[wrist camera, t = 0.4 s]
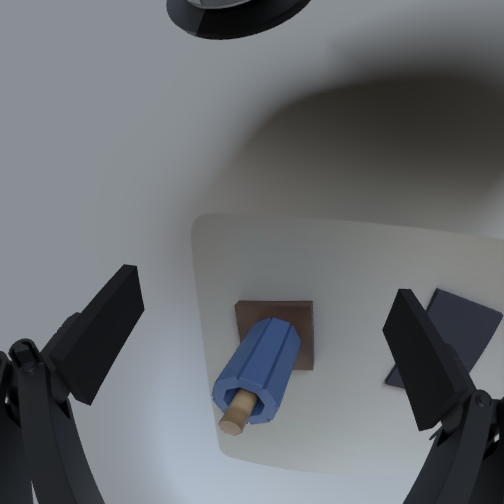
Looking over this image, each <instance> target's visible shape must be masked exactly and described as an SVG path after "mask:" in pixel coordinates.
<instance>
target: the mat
mask: <svg viewBox="0 0 504 504" xmlns="http://www.w3.org/2000/svg"><path fill="white" fill-rule="evenodd" d="M426 313H427V315H428V316H429V318H430V319H431V321H432V323H433V324H434V326H435V327H436V329H437V331H438V332H439V334H440V336H441V337H442V339H443V341H444V343H449V344H450V345H451V346H452V347H453V348H454V349H455V350H456V352H457V354H458V355H459V357H460V360H461V361H462V363H463V364H464V365H463V366H465V368H466V370H467V372H468V374H469V372H470V371H471V370H472V368H473V367H474V365H475V364H476V362H477V361H478V359H479V358H480V356H481V354H482V353H483V351H484V350H485V348H486V346H487V345H488V343H489V341H490V340H491V338H492V336H493V334H494V333H495V331H496V329H497V327H498V325H499V323H500V321H501V319H502V318H503V314H502V313H500V312H498V311H495V310H493V309H490V308H488V307H485V306H482V305H480V304H477V303H475V302H472V301H469V300H467V299H464V298H462V297H459V296H456V295H454V294H451V293H448V292H446V291H443V290H440V289H438V288H437V289H436V291H435V293H434V295H433V297H432V299H431V302H430V304H429V306H428V308H427V310H426ZM385 382H386V384H388V385H392V386H397V387H401V388H405V387H404V384H403V381H402V379H401V376H400V373H399V371H398V368H397V365H395V366H394V368H393V369H392V371H391V373H390V374H389V376H388V377H387V379H386V380H385Z"/></svg>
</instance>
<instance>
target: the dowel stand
mask: <svg viewBox="0 0 504 504" xmlns="http://www.w3.org/2000/svg"><path fill="white" fill-rule="evenodd" d="M235 311H236V317H237V323H238V329H239V335H240V341H241V343H242V341H243V340H244V338H245V337H246V335H247V334H248V332H249V331H250V329H251V328H252V326H253V325H254V324H255V323H256V322H258V321H261V320H264V319H266V318H269V317H270V318H271V319H272V318H273V317H274V318H277V319H280V320H283V321H286V322H288V323H290V325H289V326H292V325H293V327H294V328H295V330H296V332H297V334H298V335H299V337H300V342H301V343H300V347H299V350H298V353H297V356H296V359H295V362H294V365H293V368H292V369H294V370H313V366H314V326H313V302H312V301H238V302H237V303H236V304H235ZM258 398H259V397H258V395H257V394H256V393H253V392H251V391H248V390H246V389H243V388H241V387H239V389H238V391H237V393H236V394H235V396H234V398H233V400H232V401H231V403H230V405H229V406H228V408H227V410H226V412H225V413H224V415H223V417H222V418H221V420H220V422H219V427H220V429H221V430H222V431H224V432H225V433H227V434H230V435H240V434H241V433H242V431H243V429H244V427H245V425H246V423H247V421H248V419H249V417H250V415H251V412H252V410H253V408H254V406H255V404H256V402H257V400H258Z"/></svg>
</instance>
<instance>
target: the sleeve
mask: <svg viewBox="0 0 504 504" xmlns="http://www.w3.org/2000/svg"><path fill="white" fill-rule="evenodd" d="M289 325H290V323H288V322H286V321H283V320H280V319H277V318H274V317H273V318H272V319H271V318H270V317H269V318H266V319H264V320H261V321H258V322H256V323H255V324H254V325H253V326H252V328H251V329H250V331H249V332H248V334H247V335H246V337H245V338H244V340H243V341H242V343H241V344H240V346H239V347H238V349H237V350H236V352H235V353H234V355H233V356H232V358H231V359H230V361H229V362H228V364H227V365H226V367H225V368H224V370H223V371H222V373H221V374H220V376H219V377H218V378H217V380H216V381H215V383H214V388H213V392H212V397H213V401H214V402H215V403H216V404H217V406H218V407H219V408H220V409H221V410H222V412H223V413H225V412H226V410H227V408H228V406H229V405H230V403H231V401H232V400H233V398H234V396H235V394H236V393H237V391H238V389H239V387H241V388H243V389H246V390H248V391H251V392H253V393H256V394H257V395H258V397H259V398H258V400H257V402H256V404H255V406H254V408H253V410H252V412H251V415H250V417H249V419H248V421H247V423H246V424H248V422H249V423H250V424H258V423H266V422H270V420H273V418H274V416H275V414H276V412H277V410H278V409H279V406H280V403H281V400H282V398H283V395H284V392H285V389H286V386H287V383H288V380H289V377H290V374H291V371H292V368H293V365H294V362H295V359H296V356H297V353H298V350H299V347H300V343H301V342H300V337H299V335H298V334H297V332H296V330H295V328H294V327H293V325H292V326H289Z"/></svg>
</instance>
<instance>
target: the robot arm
mask: <svg viewBox="0 0 504 504" xmlns="http://www.w3.org/2000/svg"><path fill="white" fill-rule="evenodd" d="M187 1H188V2H189V3H190V4H192V5H193V6H194V7H195V8H197V9H199V10H202V11H206V12H214V13H219V12H229V11H234V10H238V9H242V8H245V7H248V6H251V5H253V4H256V3H258V2H260V1H262V0H187ZM143 312H144V304H143V299H142V294H141V289H140V283H139V277H138V271H137V266H133V265H125V264H124V265H123V266H122V267H121V268H120V269H119V270H118V271H117V272H116V273H115V275H114V276H113V277H112V278H111V279H110V280H109V281H108V282H107V284H106V285H105V286H104V287H103V288H102V289H101V290H100V291H99V293H98V294H97V295H96V296H95V297H94V298H93V299H92V301H91V302H90V303H89V304H88V306H87V307H86V308H85V309H84V310H83V311H82V313H78V312H76V313H75V314H73V315H72V316H70V317H69V318H67V319H66V321H65V322H64V323H63V324H62V327H60V328H59V329H58V330H57V333H55V334H54V335H53V337H52V338H51V339H50V340H49V342H48V343H47V344H46V346H45V347H44V348H43V349H42V351H41V352H40V353H39V351H38V349H37V347H36V345H35V344H34V342H33V341H32V340H30V339H21V340H18V341H16V342H15V343H14V344H13V345H12V346H11V348H10V349H9V353H8V354H9V356H10V358H11V359H12V361H10V360H9V359H8V357H7V355H6V354H5V353H4V352H2V351H0V504H33V495H32V483H33V487H34V491H35V494H36V497H37V500H38V503H39V504H105V503H104V501H103V498H102V496H101V494H100V492H99V490H98V487H97V485H96V483H95V480H94V478H93V475H92V473H91V471H90V468H89V465H88V462H87V459H86V457H85V454H84V451H83V448H82V445H81V441H80V438H79V435H78V432H77V428H76V424H75V421H74V417H73V413H72V409H71V404H70V401H69V399H68V395H69V394H70V392H71V393H72V395H73V396H74V398H75V399H76V400H78V401H80V402H82V403H85V404H87V405H90V406H91V404H92V402H93V400H94V398H95V396H96V394H97V392H98V390H99V388H100V386H101V384H102V383H103V381H104V379H105V377H106V375H107V373H108V372H109V370H110V368H111V366H112V364H113V363H114V361H115V359H116V357H117V355H118V354H119V352H120V350H121V348H122V347H123V345H124V343H125V342H126V340H127V338H128V336H129V335H130V333H131V331H132V330H133V328H134V326H135V325H136V323H137V321H138V320H139V318H140V316H141V315H142V313H143ZM382 331H383V333H384V335H385V338H386V340H387V343H388V345H389V348H390V350H391V353H392V355H393V358H394V360H395V363H396V365H397V368H398V371H399V373H400V376H401V379H402V381H403V384H404V387H405V390H406V393H407V396H408V398H409V401H410V404H411V407H412V410H413V414H414V417H415V420H416V423H417V426H418V430H419V431H423V430H427V429H431V428H433V427H434V426H435V425H436V424H437V423H438V422H439V421H440V420H441V423H442V426H441V427H440V428H439V429H438V430H437V431H436V432H435V433H434V434H433V435H432V436H431V437H430V439H429V440H432V439H433V438H434V437H435V436H436V438H435V440H434V443H433V445H432V447H431V450H430V452H429V454H428V456H427V459H426V461H425V463H424V465H423V467H422V469H421V471H420V473H419V475H418V477H417V479H416V481H415V483H414V485H413V487H412V488H411V490H410V492H409V494H408V495H407V497H406V499H405V500H404V502H403V504H504V397H503V398H502V399H501V400H498V399H492V398H491V396H490V395H489V394H488V393H487V392H486V391H484V390H480V389H479V390H477V389H476V387H475V385H474V383H473V381H472V379H471V377H470V375H469V374H468V372H467V370H466V368H465V366H463V365H464V364H463V363H462V361H461V360H460V357H459V355H458V354H457V352H456V350H455V349H454V348H453V347H452V346H451V345H450V344H449V343H444V341H443V339H442V337H441V336H440V334H439V332H438V331H437V329H436V327H435V326H434V324H433V323H432V321H431V319H430V318H429V316H428V315H427V313H426V312H425V310H424V308H423V307H422V305H421V304H420V302H419V301H418V299H417V298H416V296H415V295H414V293H413V292H412V290H411V289H398V292H397V295H396V298H395V300H394V303H393V305H392V308H391V310H390V313H389V315H388V318H387V320H386V322H385V325H384V327H383V329H382ZM6 397H7V398H8V402H7V404H6V403H5V399H6ZM498 434H499V440H497V441H496V442H495V440H494V437H495V436H497V435H498ZM31 480H32V483H31Z"/></svg>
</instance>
